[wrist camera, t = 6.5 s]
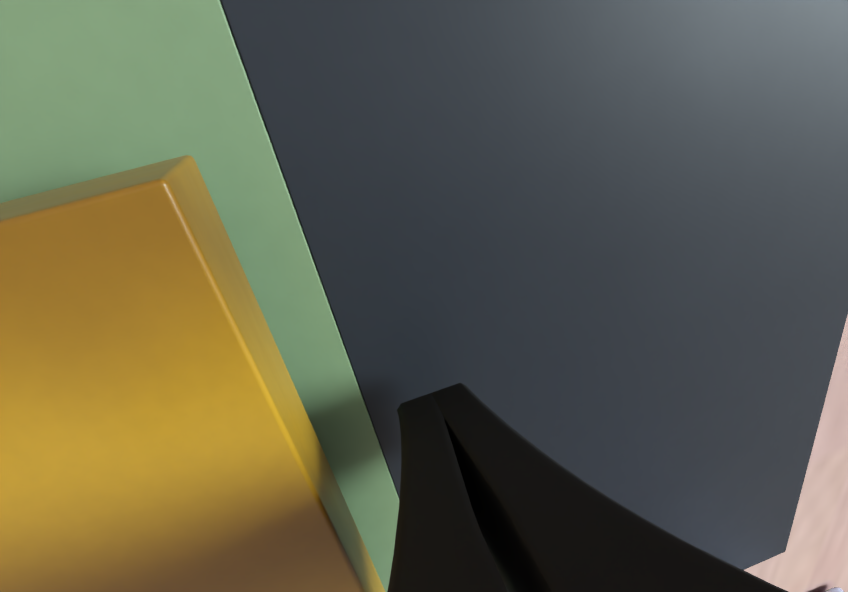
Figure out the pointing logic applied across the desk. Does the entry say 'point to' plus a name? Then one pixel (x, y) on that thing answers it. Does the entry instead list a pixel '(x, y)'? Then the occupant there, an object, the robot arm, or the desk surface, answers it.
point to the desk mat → (498, 219)
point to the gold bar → (153, 406)
